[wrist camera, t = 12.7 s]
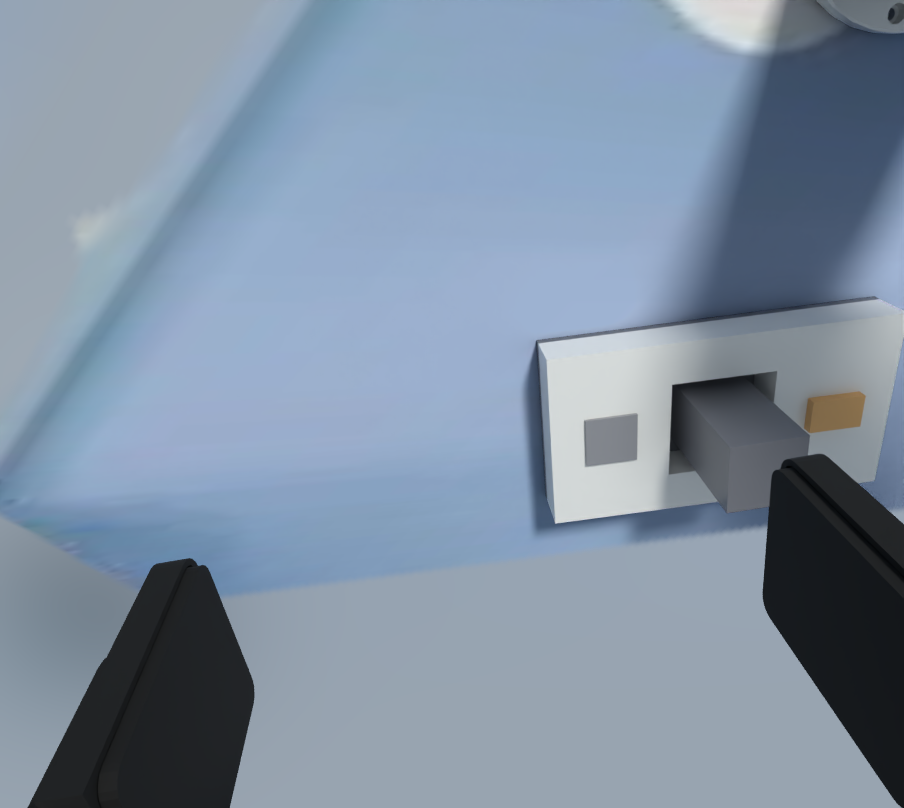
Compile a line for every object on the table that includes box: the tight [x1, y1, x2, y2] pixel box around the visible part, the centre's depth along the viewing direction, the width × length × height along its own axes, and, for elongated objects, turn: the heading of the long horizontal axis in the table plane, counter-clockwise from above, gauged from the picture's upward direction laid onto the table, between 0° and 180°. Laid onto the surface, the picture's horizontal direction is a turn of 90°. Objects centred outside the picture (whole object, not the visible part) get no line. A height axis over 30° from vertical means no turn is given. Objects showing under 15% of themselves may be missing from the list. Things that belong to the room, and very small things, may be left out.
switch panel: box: [537, 297, 904, 524], centre depth 40 cm, size 20×11×4 cm, turn 96°
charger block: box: [672, 376, 810, 513], centre depth 38 cm, size 4×4×8 cm
